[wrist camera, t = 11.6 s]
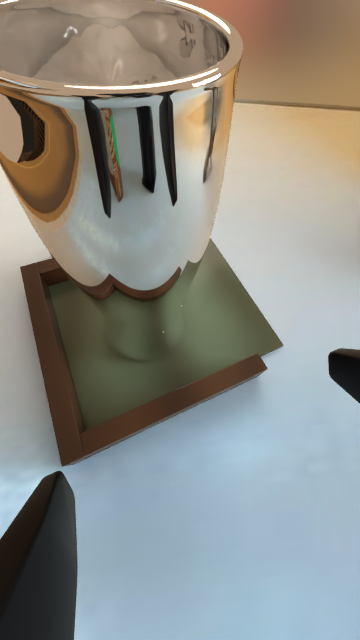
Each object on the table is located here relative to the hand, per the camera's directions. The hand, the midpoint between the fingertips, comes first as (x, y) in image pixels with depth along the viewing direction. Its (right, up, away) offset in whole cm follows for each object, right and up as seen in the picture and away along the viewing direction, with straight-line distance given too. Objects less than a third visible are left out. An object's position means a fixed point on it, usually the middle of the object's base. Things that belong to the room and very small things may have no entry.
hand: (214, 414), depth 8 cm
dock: (-4, +3, +12) cm, 13 cm away
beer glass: (-4, +3, +11) cm, 12 cm away
